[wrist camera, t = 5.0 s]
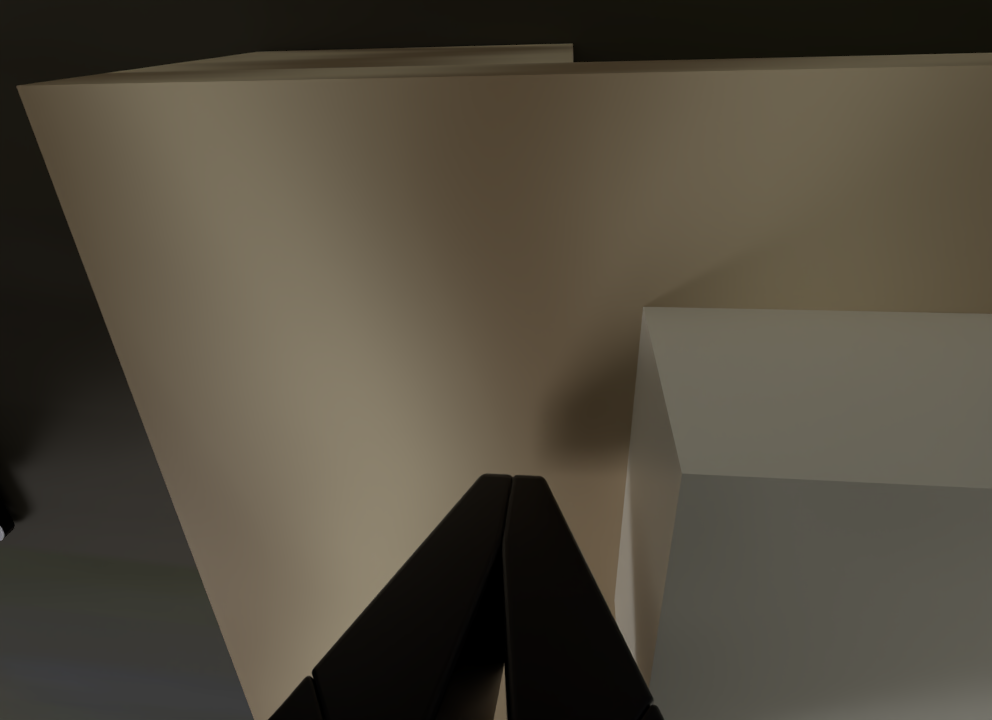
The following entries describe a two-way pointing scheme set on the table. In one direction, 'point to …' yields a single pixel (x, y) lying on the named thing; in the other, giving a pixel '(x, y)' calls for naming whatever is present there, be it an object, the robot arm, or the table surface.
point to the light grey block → (810, 515)
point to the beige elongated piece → (470, 276)
